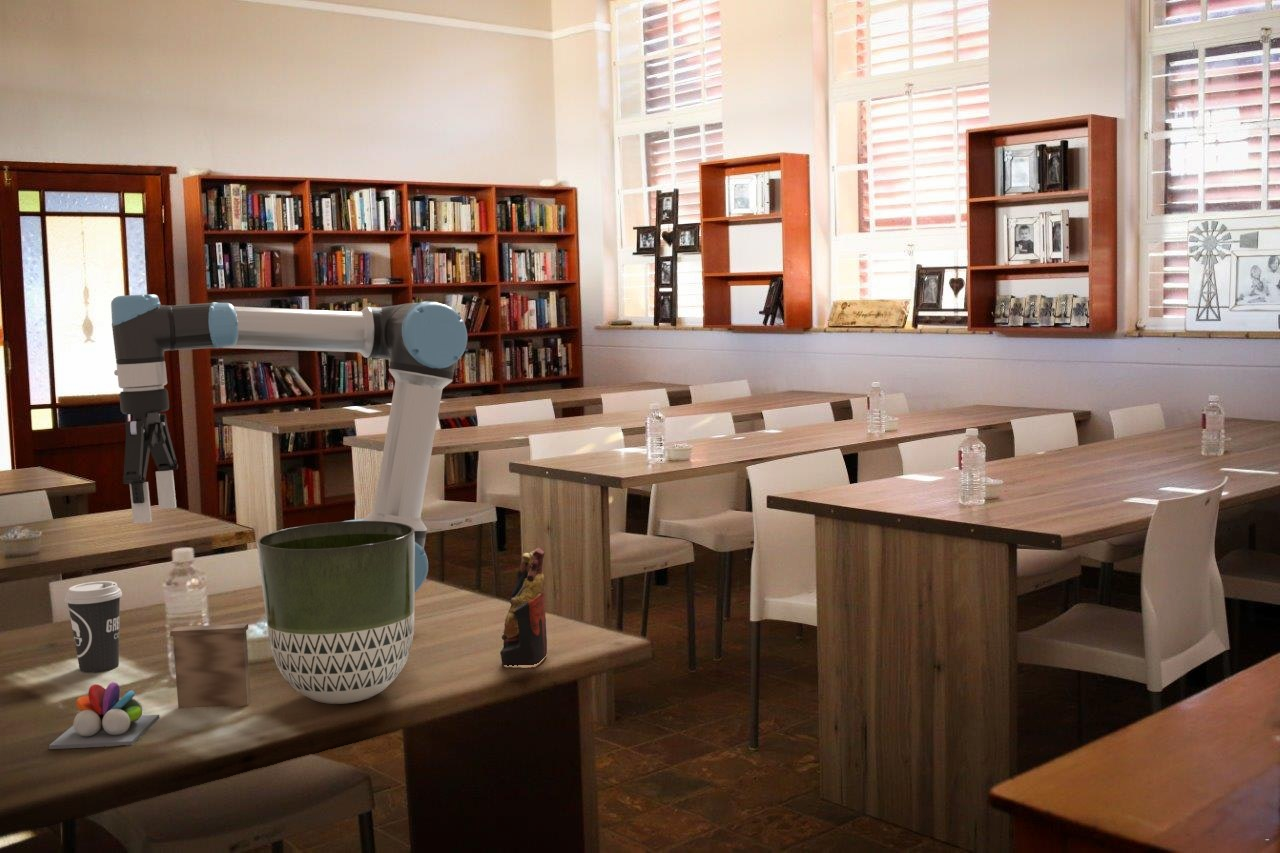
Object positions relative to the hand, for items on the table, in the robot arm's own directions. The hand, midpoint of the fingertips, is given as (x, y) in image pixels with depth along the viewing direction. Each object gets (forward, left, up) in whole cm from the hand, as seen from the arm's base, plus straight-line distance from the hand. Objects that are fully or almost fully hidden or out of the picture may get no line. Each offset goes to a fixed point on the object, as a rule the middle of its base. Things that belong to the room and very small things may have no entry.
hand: (155, 515), depth 210 cm
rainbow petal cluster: (+2, +22, -29) cm, 37 cm away
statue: (-60, -6, -30) cm, 67 cm away
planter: (-32, +10, -30) cm, 45 cm away
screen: (-11, +10, -30) cm, 33 cm away
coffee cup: (+17, -15, -30) cm, 38 cm away
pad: (+2, +22, -30) cm, 37 cm away
